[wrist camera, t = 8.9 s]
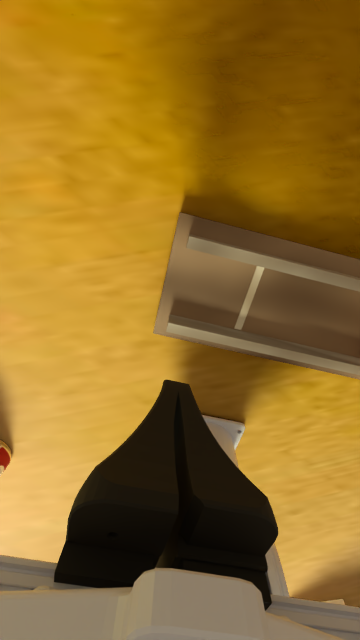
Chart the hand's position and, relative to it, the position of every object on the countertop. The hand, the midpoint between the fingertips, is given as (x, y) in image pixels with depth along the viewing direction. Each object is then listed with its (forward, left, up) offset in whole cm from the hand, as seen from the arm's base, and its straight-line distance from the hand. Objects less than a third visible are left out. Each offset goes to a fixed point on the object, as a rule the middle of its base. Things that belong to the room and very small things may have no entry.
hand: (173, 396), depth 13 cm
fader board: (+4, -12, -10) cm, 16 cm away
